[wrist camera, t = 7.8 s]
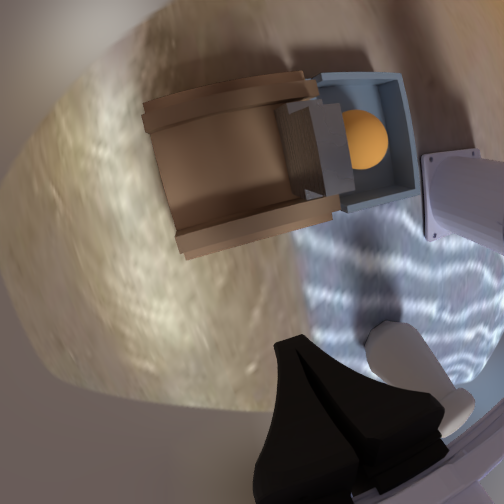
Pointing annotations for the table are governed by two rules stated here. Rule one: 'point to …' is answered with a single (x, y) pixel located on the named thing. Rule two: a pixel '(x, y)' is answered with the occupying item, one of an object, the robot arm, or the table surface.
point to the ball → (365, 138)
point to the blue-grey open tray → (397, 127)
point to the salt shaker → (416, 370)
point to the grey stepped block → (315, 148)
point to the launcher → (230, 162)
